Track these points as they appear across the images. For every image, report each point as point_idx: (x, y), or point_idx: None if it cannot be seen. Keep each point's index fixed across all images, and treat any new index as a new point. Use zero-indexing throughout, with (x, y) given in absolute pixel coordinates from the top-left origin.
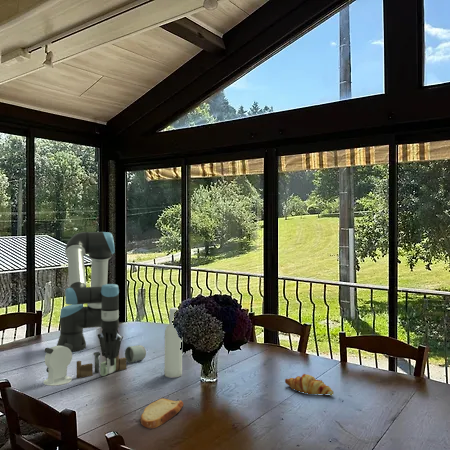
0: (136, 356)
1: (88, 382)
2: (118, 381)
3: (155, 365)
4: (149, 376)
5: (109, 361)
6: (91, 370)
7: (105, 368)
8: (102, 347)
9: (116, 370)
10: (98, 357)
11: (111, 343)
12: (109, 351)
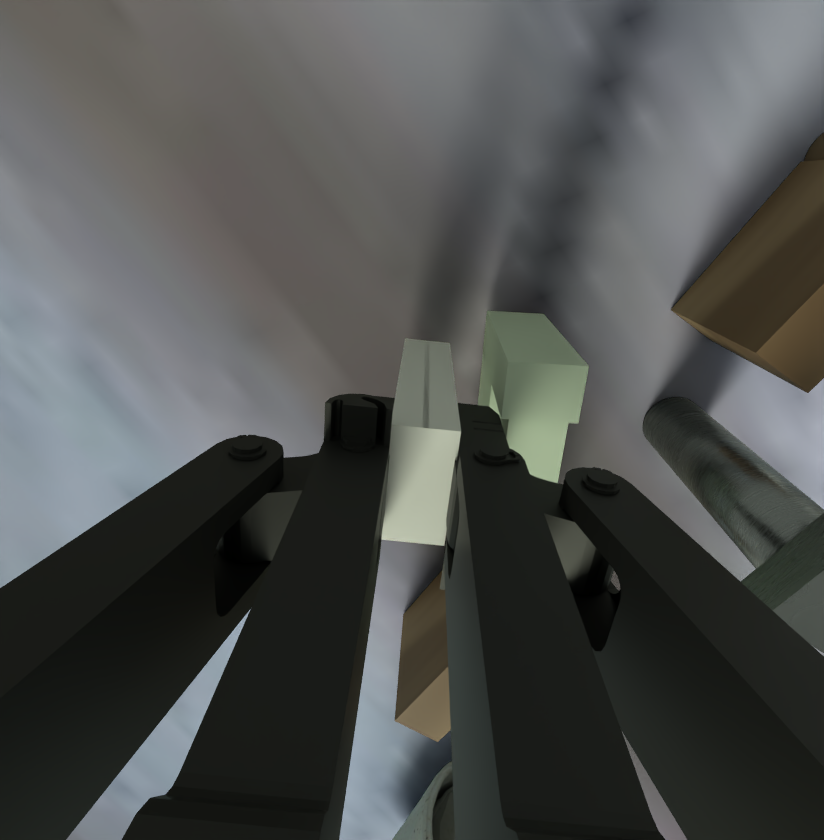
0: (411, 830)
1: (577, 25)
2: (211, 253)
3: None
4: (36, 520)
5: (394, 407)
6: (717, 312)
7: (491, 375)
8: (710, 628)
9: None
10: (752, 537)
11: (166, 805)
12: (372, 527)
